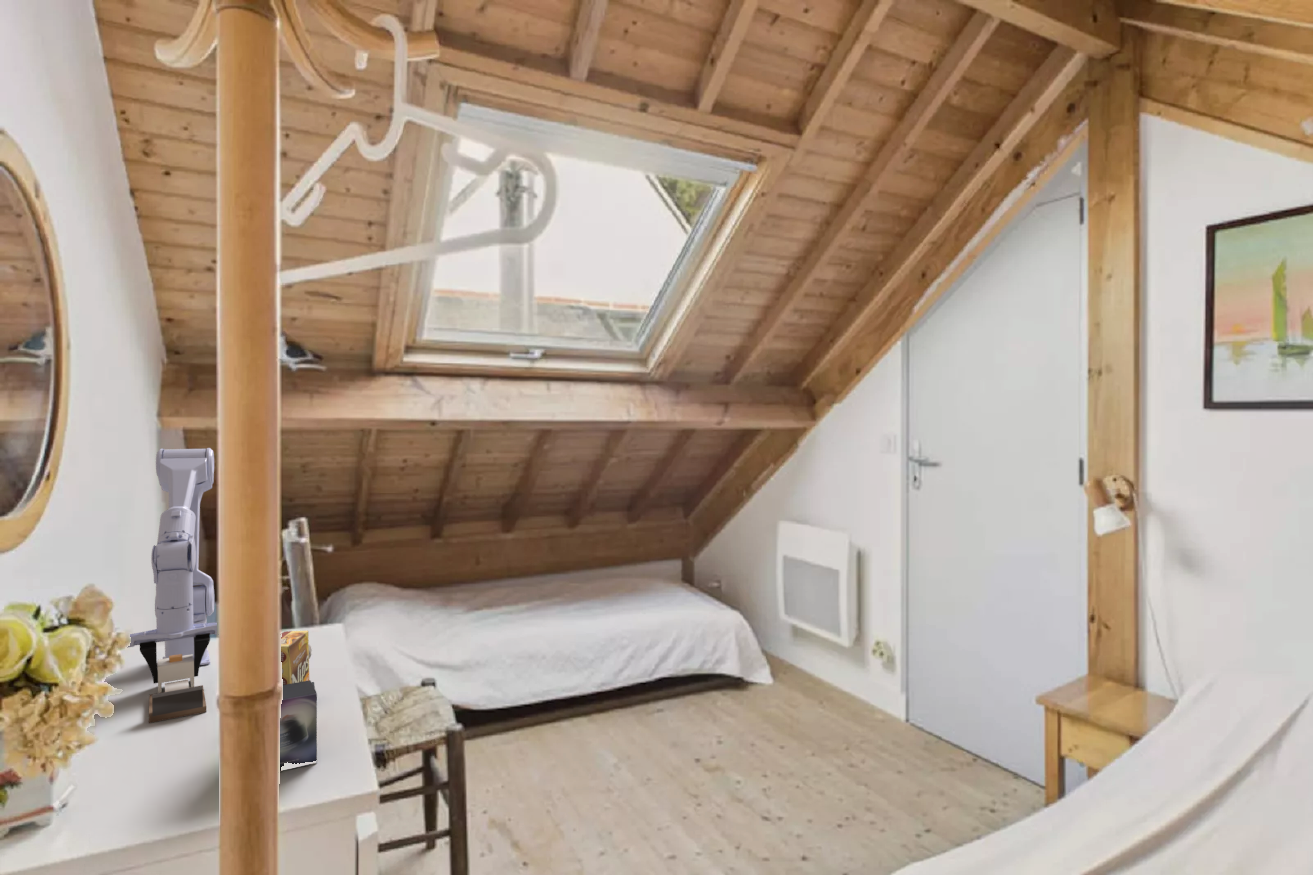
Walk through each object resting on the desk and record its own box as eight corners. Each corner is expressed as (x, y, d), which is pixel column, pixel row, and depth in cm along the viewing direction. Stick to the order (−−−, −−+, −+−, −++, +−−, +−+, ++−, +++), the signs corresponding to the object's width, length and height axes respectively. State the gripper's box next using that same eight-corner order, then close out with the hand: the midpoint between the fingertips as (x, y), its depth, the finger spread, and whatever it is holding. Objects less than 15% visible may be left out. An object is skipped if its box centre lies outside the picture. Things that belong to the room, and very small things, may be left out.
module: (158, 686, 135) (157, 655, 135) (193, 680, 138) (192, 649, 138) (158, 694, 131) (157, 662, 130) (194, 688, 134) (193, 656, 134)
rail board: (149, 700, 128) (149, 677, 128) (202, 690, 132) (202, 668, 132) (148, 723, 118) (148, 698, 118) (206, 711, 123) (206, 688, 122)
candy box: (291, 746, 109) (290, 646, 109) (261, 748, 109) (260, 647, 108) (311, 722, 118) (310, 629, 118) (284, 724, 117) (282, 630, 117)
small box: (233, 785, 98) (232, 708, 98) (230, 766, 103) (229, 693, 103) (318, 764, 104) (317, 692, 103) (311, 747, 109) (310, 678, 109)
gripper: (125, 616, 127) (126, 693, 127) (221, 604, 135) (223, 676, 135) (127, 607, 132) (128, 681, 133) (219, 597, 141) (220, 666, 141)
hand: (176, 678), depth 134 cm, fingers closed on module, 5 cm apart
